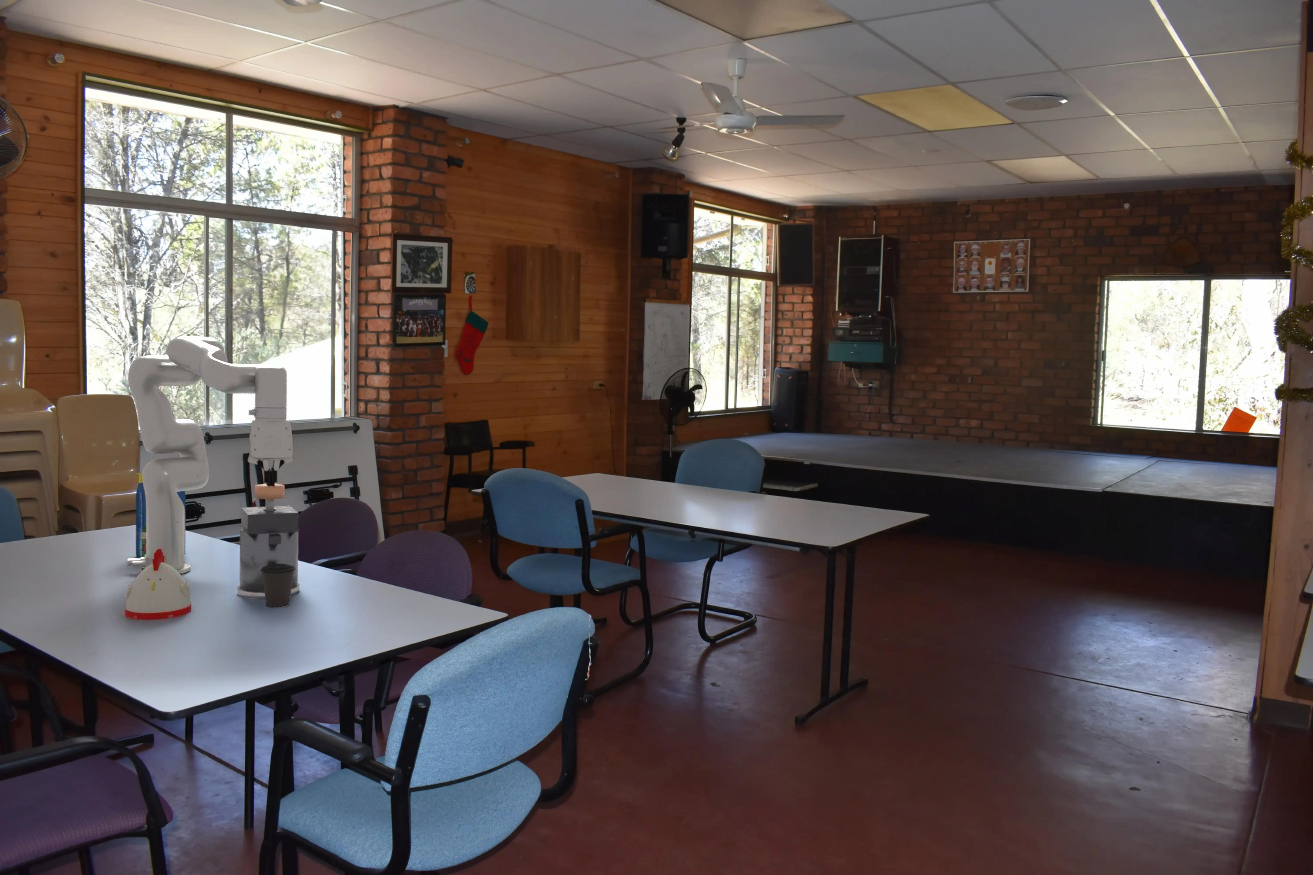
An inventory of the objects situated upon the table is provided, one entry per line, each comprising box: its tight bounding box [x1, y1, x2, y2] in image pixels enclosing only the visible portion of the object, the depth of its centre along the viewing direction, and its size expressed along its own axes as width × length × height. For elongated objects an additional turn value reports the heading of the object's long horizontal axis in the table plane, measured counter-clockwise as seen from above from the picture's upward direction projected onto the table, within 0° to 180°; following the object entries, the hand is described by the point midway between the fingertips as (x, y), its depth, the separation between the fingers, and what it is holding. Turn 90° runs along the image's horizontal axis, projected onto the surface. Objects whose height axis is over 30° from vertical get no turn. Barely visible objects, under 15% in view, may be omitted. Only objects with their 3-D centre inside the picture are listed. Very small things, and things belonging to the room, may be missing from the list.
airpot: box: [236, 505, 301, 600], centre depth 247 cm, size 15×18×22 cm
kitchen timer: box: [124, 549, 192, 621], centre depth 226 cm, size 14×14×15 cm
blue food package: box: [135, 473, 187, 559], centre depth 286 cm, size 6×12×25 cm, turn 133°
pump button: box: [254, 483, 285, 511], centre depth 247 cm, size 7×7×8 cm
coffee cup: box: [260, 564, 295, 609], centre depth 237 cm, size 8×8×10 cm
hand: (270, 485), depth 247 cm, fingers closed
